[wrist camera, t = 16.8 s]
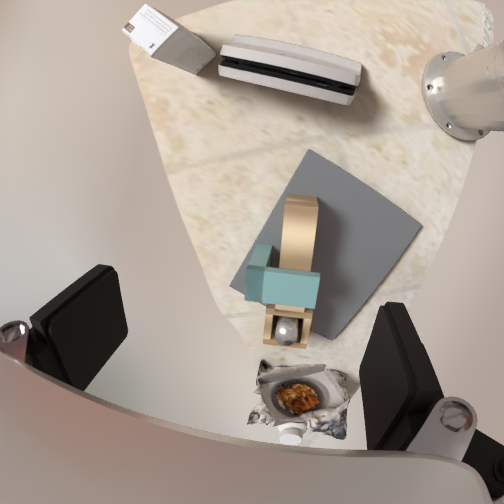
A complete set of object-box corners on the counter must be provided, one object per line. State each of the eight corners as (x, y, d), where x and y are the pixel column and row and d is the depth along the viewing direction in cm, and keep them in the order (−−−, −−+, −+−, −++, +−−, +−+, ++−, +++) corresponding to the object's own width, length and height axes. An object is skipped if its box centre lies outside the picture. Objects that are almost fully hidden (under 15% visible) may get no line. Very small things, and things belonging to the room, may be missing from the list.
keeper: (314, 277, 41) (314, 308, 33) (255, 270, 42) (244, 300, 34) (317, 250, 39) (320, 277, 32) (257, 243, 40) (245, 269, 33)
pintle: (286, 294, 42) (282, 324, 35) (303, 303, 42) (301, 334, 36) (276, 308, 43) (270, 339, 37) (293, 316, 43) (289, 349, 37)
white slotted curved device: (363, 63, 30) (374, 71, 23) (354, 95, 33) (361, 113, 26) (235, 34, 31) (207, 35, 24) (230, 65, 34) (201, 76, 27)
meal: (260, 373, 51) (246, 431, 39) (261, 356, 49) (247, 415, 37) (342, 381, 49) (345, 439, 37) (347, 365, 47) (352, 424, 35)
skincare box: (218, 54, 32) (183, 25, 21) (194, 77, 34) (151, 58, 23) (189, 29, 31) (147, -1, 20) (166, 52, 33) (119, 30, 22)
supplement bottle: (314, 400, 51) (312, 439, 43) (296, 412, 54) (292, 450, 45) (293, 388, 51) (288, 428, 42) (275, 401, 53) (269, 440, 44)
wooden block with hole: (306, 323, 44) (305, 348, 38) (268, 318, 44) (262, 343, 39) (325, 197, 36) (328, 208, 31) (279, 192, 37) (274, 202, 32)
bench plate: (308, 148, 35) (308, 149, 34) (418, 222, 36) (421, 224, 35) (231, 282, 44) (229, 286, 43) (331, 336, 45) (332, 340, 44)
